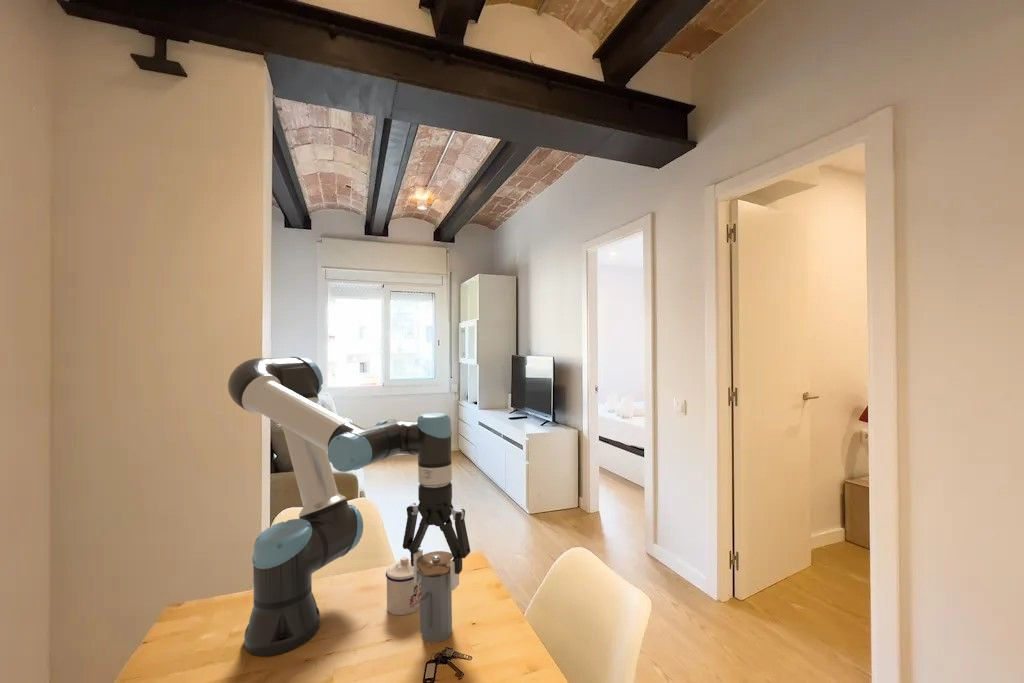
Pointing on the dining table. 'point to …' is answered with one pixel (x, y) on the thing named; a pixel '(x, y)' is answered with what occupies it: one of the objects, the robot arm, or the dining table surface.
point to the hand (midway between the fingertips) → (436, 583)
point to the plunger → (434, 564)
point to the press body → (436, 608)
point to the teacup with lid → (402, 588)
